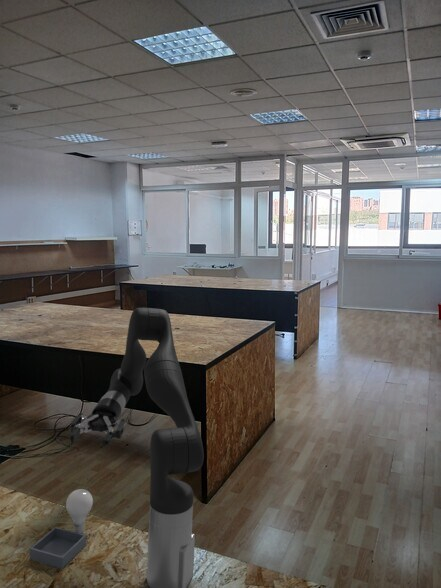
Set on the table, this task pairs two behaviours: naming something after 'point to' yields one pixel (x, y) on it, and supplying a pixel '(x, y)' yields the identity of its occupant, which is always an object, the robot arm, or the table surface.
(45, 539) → the walled box
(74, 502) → the lightbulb
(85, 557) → the table surface
